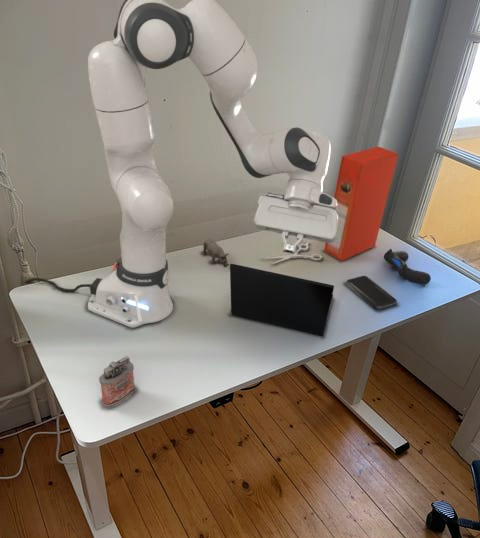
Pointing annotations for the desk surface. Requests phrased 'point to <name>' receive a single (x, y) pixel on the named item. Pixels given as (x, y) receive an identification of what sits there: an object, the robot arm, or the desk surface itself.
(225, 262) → the rhino figurine
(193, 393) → the desk surface
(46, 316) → the desk surface
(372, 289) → the phone
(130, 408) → the desk surface
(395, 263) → the gaming controller
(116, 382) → the lighter
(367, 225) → the file binder
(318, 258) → the scissors
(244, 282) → the laptop screen
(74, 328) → the desk surface
